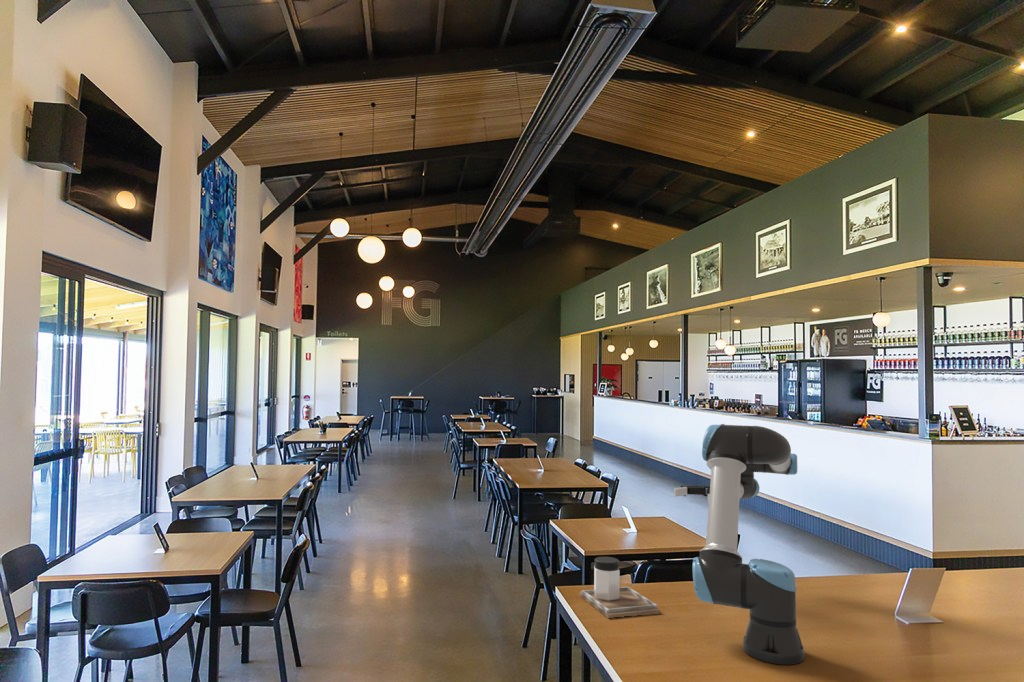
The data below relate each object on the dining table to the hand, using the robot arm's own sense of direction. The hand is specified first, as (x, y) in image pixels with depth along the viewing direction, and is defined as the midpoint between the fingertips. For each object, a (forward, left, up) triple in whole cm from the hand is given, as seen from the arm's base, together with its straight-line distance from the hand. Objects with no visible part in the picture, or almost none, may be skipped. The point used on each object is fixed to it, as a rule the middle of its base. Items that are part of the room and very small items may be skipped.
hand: (691, 495), depth 208 cm
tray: (+4, +25, -35) cm, 43 cm away
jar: (+9, +27, -34) cm, 44 cm away
